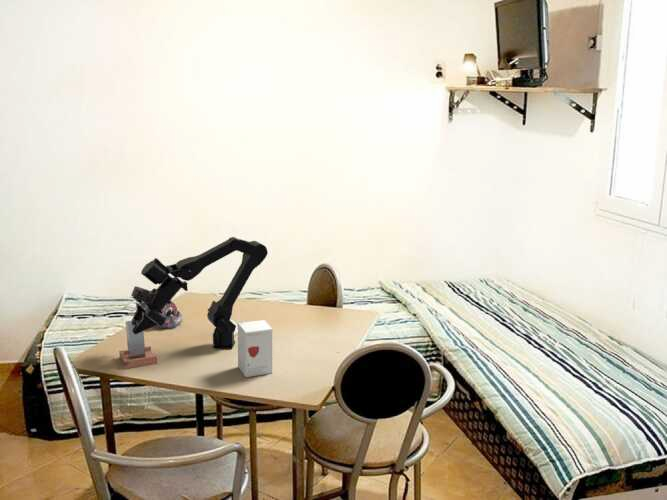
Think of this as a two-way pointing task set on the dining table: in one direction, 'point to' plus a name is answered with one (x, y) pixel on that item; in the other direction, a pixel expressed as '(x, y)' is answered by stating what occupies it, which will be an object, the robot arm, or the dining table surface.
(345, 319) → the dining table surface
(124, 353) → the tray
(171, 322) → the brake caliper
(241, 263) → the robot arm
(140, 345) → the knobbed tall block
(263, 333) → the supplement box
